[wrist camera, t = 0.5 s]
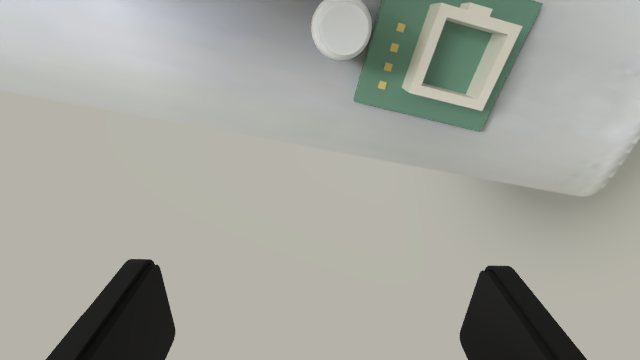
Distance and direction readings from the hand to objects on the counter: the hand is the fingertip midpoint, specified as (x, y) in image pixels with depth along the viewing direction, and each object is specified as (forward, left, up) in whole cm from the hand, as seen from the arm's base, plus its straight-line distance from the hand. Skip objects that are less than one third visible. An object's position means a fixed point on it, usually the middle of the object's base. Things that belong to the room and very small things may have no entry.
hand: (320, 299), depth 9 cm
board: (+13, +7, -31) cm, 34 cm away
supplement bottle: (+1, +7, -31) cm, 32 cm away
